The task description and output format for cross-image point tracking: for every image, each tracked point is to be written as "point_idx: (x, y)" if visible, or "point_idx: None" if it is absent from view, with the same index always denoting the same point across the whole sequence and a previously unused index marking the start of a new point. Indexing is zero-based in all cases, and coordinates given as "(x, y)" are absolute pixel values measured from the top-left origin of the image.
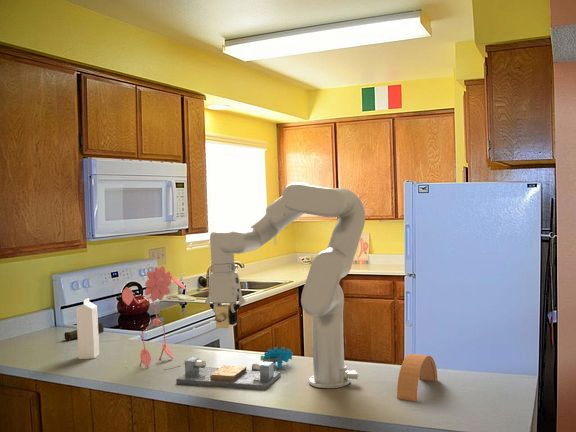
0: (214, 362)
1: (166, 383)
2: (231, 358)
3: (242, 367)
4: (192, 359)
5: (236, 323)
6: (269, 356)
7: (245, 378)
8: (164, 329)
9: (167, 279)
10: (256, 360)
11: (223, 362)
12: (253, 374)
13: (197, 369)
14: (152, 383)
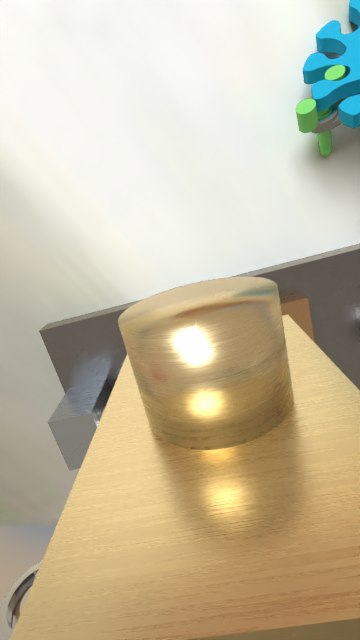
0: (5, 172)
1: (70, 475)
2: (23, 52)
3: (294, 312)
4: (85, 442)
5: (290, 319)
6: (357, 91)
7: (347, 370)
8: None
9: None
10: (184, 16)
11: (45, 149)
12: (353, 313)
13: (107, 398)
14: (28, 492)
